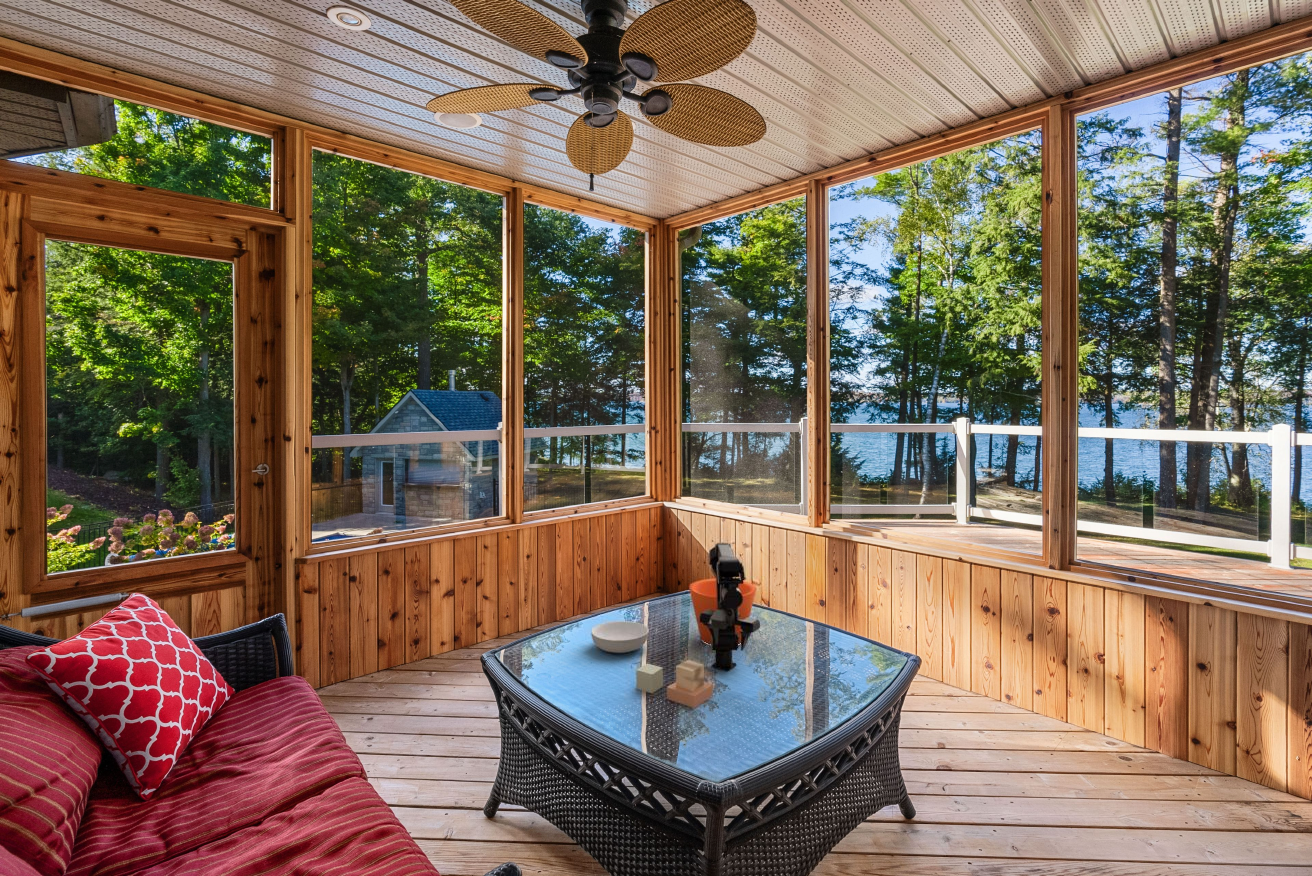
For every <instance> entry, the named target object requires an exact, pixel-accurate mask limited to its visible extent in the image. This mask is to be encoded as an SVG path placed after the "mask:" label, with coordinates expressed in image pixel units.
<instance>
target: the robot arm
mask: <svg viewBox="0 0 1312 876" xmlns="http://www.w3.org/2000/svg"><path fill="white" fill-rule="evenodd" d="M708 565H709V566H710V571H711V572H712V575H713V576H714V578H715V579H716V596H717V610H716V611H714V610H709V609H707V610H706V611H704V612H702V613H701V614H700V616H699V622H702V623H703V625H705V626H706V627H708V629H709V631H710V633H711V646H710V647H711V651H713V652H714V655H715V656H714V658H715V659H714V662H713V664H711V668H715V669H718V670H722V671H726V672H729V671H730V670H732V669H733V668H734V667H736V666H737V663H736V662H733V651H738V649H739V645H738V643H739V636H738V634H737V632H735V625H738V626H741V629H742V631H740V633H741V644H740V651H741V652H743V651H744V650H745V648H746V645H747V643H748V641H749V639H750V637H751V634H752V633H755V632H756V631H758V630H759V629H761V622H760V620H759V618H755V617H754V618H753V617H751V616H750V617H747V618H746V619H744V620H741V619H738V618H739V617H740V613H738V607H739V606H740V605H741V604H742V602H743V597H742V594H741V592H740V590H739V584H743V581H745V579H746V574H745V569H744V565H743V562H742V561H740V558H739V557H738V556H735V555H734V549H733V548H731V543H729V542H716V543H715V545H714V547H712V548H711V549H709V552H708Z"/></svg>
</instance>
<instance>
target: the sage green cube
mask: <svg viewBox="0 0 1312 876" xmlns="http://www.w3.org/2000/svg"><path fill="white" fill-rule="evenodd" d="M635 671H636V672H635V676H636V677H635V680H636V681H635V683H636V685H635V689H637V690H640V691H644V692H646V693H650V694H654V693H655V692H657V691H658V690H660V689H661V688H662V687H664V667H662V666H657V665H655V664H650V663H646V664H643V665H642V666H640V667H639V668H637V669H635Z"/></svg>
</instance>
